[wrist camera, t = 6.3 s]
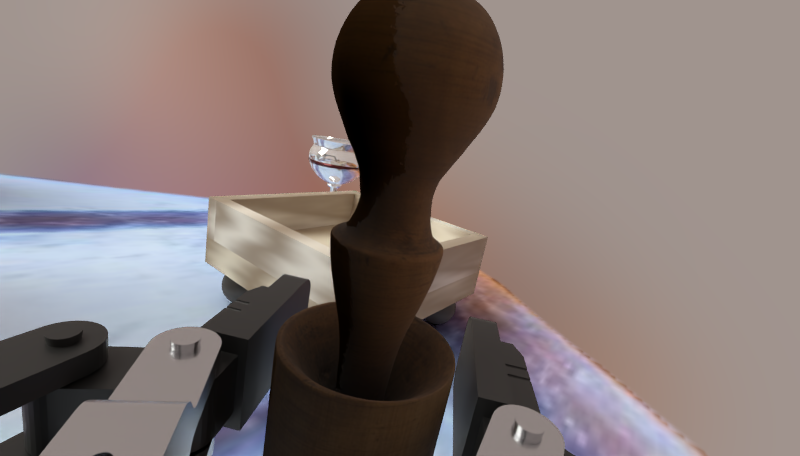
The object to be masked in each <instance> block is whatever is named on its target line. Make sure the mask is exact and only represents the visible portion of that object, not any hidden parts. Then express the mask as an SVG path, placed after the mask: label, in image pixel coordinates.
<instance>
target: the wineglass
mask: <svg viewBox="0 0 800 456" xmlns="http://www.w3.org/2000/svg"><path fill="white" fill-rule="evenodd" d="M312 137H313V140H314V145H313V146H312V148H311V149H310V153H309V161H310V165H311V167H312V169H313V170H314V171H315V173H316V174H317V175H318V176H319V177H320V178H322V179H323V180H324V181H326V182H327V185H328V186H329V187H330V192H334V191H337V188H340V187H341V185H342V184H345V183H349V182H351V181H353V180H354V179H356V178H357V177H358V176H360V173H359V167H358V163H357V160H356V157H355V154H354V151H353V149H352V146H351V144H350V141H349V140H345V139H339V138H333V137H326V136H316V135H314V136H312Z"/></svg>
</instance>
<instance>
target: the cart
mask: <svg viewBox="0 0 800 456" xmlns="http://www.w3.org/2000/svg"><path fill="white" fill-rule="evenodd" d="M359 198H360V193H359V192H357V191H338V192H337V191H334V192H311V193H290V194H289V193H286V194H262V195H239V196H214V197H209V208H208V225H207V242H206V259H205V262H207V263H208V264H210V265H211V266H213V267H214V268H216V269H217V270H218V271H220V272H221V273H223V274H224V275H225V276H224V278H223V281H222V290H223V293H224V295H225V296H226V297H227V298H228V299H229V300H230V301H232V302H233V301H236V299H237V298H239V297H240V296H241V295H242V294H244V293H245V292H246V291H249V290H252V289H254V288H257V287H260V286H266V287H269V286H270V285H272V284H273V283H274V282H275V281H276V280H278V279H279V278H280V277H281V276H282V275H284V274H287V275H292V276H296V277H301V278H305V279H309V280H310V283H311V288H310V296H309V303H308V308H309V307H312V306H315V305H319V304H323V303H328V302H335V295H334V287H333V279H332V271H331V259H330V234H331V230H332V228H333V227H334V226H336V225H337V224H340V223H343V222H347V221H349V220H350V218H351V216H352V215H353V213H354V211H355V209H356V207H357V205H358V202H359ZM430 220H431V231H432V236H433V237H434V238H435V239H436V240H437V241H438V242H439V243H440V244H441V245H442V247H443V257H442V260H441V263H440V265H439V268H438V271H437V273H436V276H435V278H434V281H433V283H432V285H431V287H430V289H429V291H428V293H427V295H426V297H425V299H424V301H423V303H422V305H421V307H420V308H419V310H418V312H417V314H416V317H418V318H420V319H424V318H425V319H426V320H427V321H428V322H430V323H433V324H443V323H446V322H447V321H449V320H450V319H451V318H452V316H453V315H454V312H455V308H456V305H455V302H457V301H459V300H461V299H463V298H465V297H467V296H469V295H471V294H473V293H474V290H475V286H476V282H477V278H478V274H479V270H480V266H481V262H482V258H483V254H484V250H485V246H486V242H487V238H488V237H486V236H483V235H480V234H478V233H475V232H472V231H469V230H465V229H463V228H460V227H458V226H455V225H452V224H449V223H446V222H443V221H440V220H437V219H435V218H432V217H431V219H430Z"/></svg>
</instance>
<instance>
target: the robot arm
mask: <svg viewBox="0 0 800 456" xmlns="http://www.w3.org/2000/svg"><path fill="white" fill-rule="evenodd" d="M310 288H311V283H310V280H309V279H305V278H301V277H296V276H292V275H287V274H284V275H282V276H281V277H280V278H279V279H278V280H276V281H275V282H274V283H273V284H272V285H270V286H269V287H266V286H260V287H257V288H254V289H252V290H249V291H246V292H245V293H244V294H242V295H241V296H240V297H239V298H237V299H236V301H233V302H232V303H231V304H230V305H228V306H227V308H224V309H223V310H222V311H221V312H219V313H218V314H217V315H216V316H214V317H213V318H212V319H210V320H209V321H208V322H207V323H205V324H204V325H203V326H201V327H182V328H176V329H171V330H168V331H165V332H163V333H161V334H159V335H157V336H155V337H154V338H153V339H151V341H150V342H149V343H148V344H147V346H146V347H144V348H141V347H112V346H108V331H107V329H106V328H105V327H104V326H102V325H100V324H98V323H94V322H89V321H67V322H60V323H55V324H51V325H47V326H44V327H41V328H38V329H35V330H32V331H29V332H26V333H23V334H20V335H17V336H14V337H11V338H8V339H5V340H2V341H0V416H2V415H4V414H6V413H8V412H10V411H12V410H15V409H17V408H19V407H21V406H22V418H23V432H21V433H19V434H18V435H16V436H14V437H12V438H10V439H8V440H6V441H4V442H2V443H0V456H212V453H213V449H214V439H215V436H216V434H217V433H218V432H219V431H220V429H221V428H222V427H223V426H224V427H227V428H231V429H235V430H239V431H240V430H241V428H242V427H243V426H244V424H245V423H246V421H247V420H248V419H249V417H250V416H251V414H252V413H253V411H254V410H255V409H256V407H257V406H258V404H259V403H260V402H261V400H262V399H263V397H264V396H265V395H266V393H267V392H268V390H269V389H270V388H271V378H272V368H273V358H274V349H275V342H276V337H277V334H278V331H279V329H280V328H281V326H282V325H283V324H284V323H285V321H286V320H288V319H289V318H290V317H291V316H293V315H294V314H296V313H298V312H300V311H302V310H304V309H306V308H308V303H309V296H310ZM453 456H575V455H573V454H571V453H570V452H568V451H567V450H566V449H565V442H564V439H563V436H562V434H561V433H560V431H559V430H558V428H557V427H556V426H555V425H554V424H553V423H552V422H551V421H550V420H549V419H547V418H546V417H545V416H543V415H542V414H540V410H539V407H538V404H537V401H536V397H535V394H534V391H533V387H532V384H531V382H530V377H529V374H528V371H527V367H526V364H525V361H524V357H523V356H522V354H521V353H520V352H519V351H518V350H517V349H516V348H515V347H514V345H513V344H509V343H505V342H501V341H500V337H499V332H498V328H497V323H496V322H491V321H487V320H483V319H478V318H474V317H470V318H469V320H468V323H467V326H466V330H465V334H464V338H463V342H462V346H461V350H460V354H459V358H458V362H457V366H456V371H455V377H454V386H453Z"/></svg>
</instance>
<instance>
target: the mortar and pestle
mask: <svg viewBox="0 0 800 456" xmlns="http://www.w3.org/2000/svg"><path fill="white" fill-rule="evenodd" d="M503 70H504V69H503V53H502V47H501V42H500V38H499V35H498V32H497V30H496V27H495V25H494V23H493V21H492V19H491V17H490V16H489V14H488V13H487V11H486V10H485V9H484V8H483V7H482V6H481V5H480V4H479V3H478V2H477V1H476V0H360V1H359V2H358V3H357V4H356V6H355V7H354V8H353V9H352V11H351V12H350V14H349V15H348V17H347V19H346V20H345V22H344V24H343V26H342V28H341V30H340V33H339V35H338V38H337V40H336V44H335V48H334V53H333V59H332V84H333V91H334V95H335V99H336V103H337V106H338V109H339V112H340V115H341V118H342V121H343V124H344V127H345V130H346V133H347V136H348V139H349V141H350V144H351V146H352V149H353V151H354V154H355V157H356V160H357V163H358V167H359V173H360V190H361V191H360V198H359V202H358V205H357V207H356V209H355V211H354V213H353V215H352V216H351V218H350V220H349V221H347V222H343V223H340V224H337V225H336V226H334V227H333V228H332V230H331V234H330V259H331V271H332V279H333V287H334V295H335V302H328V303H323V304H319V305H315V306H312V307H309V308H306V309H304V310H302V311H300V312H298V313H296V314H294V315H293V316H291V317H290V318H289V319H288V320H286V321H285V323H284V324H283V325H282V326H281V328H280V329H279V331H278V334H277V337H276V342H275V349H274V358H273V368H272V378H271V388H270V397H269V407H268V416H267V425H266V434H265V443H264V452H263V456H433V454H434V450H435V446H436V442H437V439H438V435H439V431H440V427H441V423H442V419H443V416H444V412H445V408H446V404H447V400H448V397H449V393H450V389H451V385H452V381H453V377H454V373H455V358H454V354H453V351H452V350H451V347H450V346H449V344H448V342H447V341H446V340H445V338H444V337H443V336H442V335H441V334H440V333H439V332H438V331H437V330H436V329H434V328H433V327H432V326H431V325H429V324H428V323H426V322H425V321H423V320H422V319H420V318H418V317H416V314H417V312H418V310H419V308H420V307H421V305H422V303H423V301H424V299H425V297H426V295H427V293H428V291H429V289H430V287H431V285H432V283H433V281H434V278H435V276H436V273H437V271H438V268H439V265H440V263H441V260H442V257H443V247H442V245H441V244H440V243H439V242H438V241H437V240H436V239H435V238H434V237H433V236H432V231H431V220H430V219H431V205H432V199H433V195H434V192H435V190H436V187H437V185H438V183H439V181H440V180H441V178H442V177H443V176H444V175H445V174H446V172H447V171H448V170H449V169H450V168H451V166H452V165H453V164H454V163H455V162H456V161H457V159H458V158H459V157H460V156H461V155H462V154H463V152H464V151H465V150H466V148H467V147H468V146H469V145H470V144H471V142H472V141H473V140H474V139H475V138H476V137H477V135H478V134H479V133H480V131H481V130H482V129H483V127H484V126H485V125H486V123H487V121H488V120H489V118H490V117H491V115H492V113H493V112H494V110H495V108H496V105H497V102H498V99H499V96H500V92H501V87H502V81H503Z"/></svg>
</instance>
